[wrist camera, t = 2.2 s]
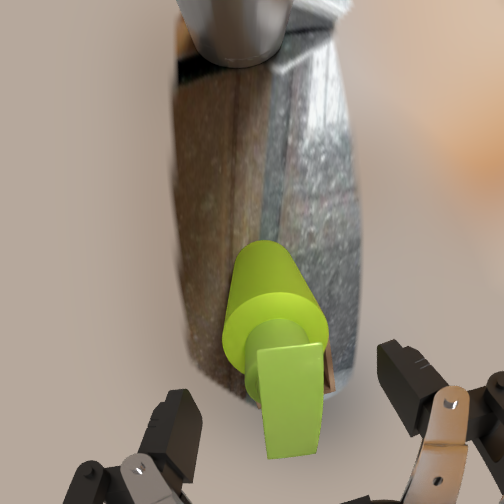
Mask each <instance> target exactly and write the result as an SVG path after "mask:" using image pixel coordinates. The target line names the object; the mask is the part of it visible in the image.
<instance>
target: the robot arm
mask: <svg viewBox="0 0 504 504" xmlns="http://www.w3.org/2000/svg"><path fill="white" fill-rule="evenodd" d="M176 1H177V3H178V6H179V8H180V11H181V13H182V15H183V18H184V20H185V23H186V25H187V28H188V30H189V33H190V35H191V38H192V40H193V42H194V45H195V47H196V49H197V51H198V52H199V53H200V54H201V55H202V56H203V57H204V58H205V59H206V60H208V61H210V62H211V63H214V64H216V65H219V66H223V67H229V68H243V67H250V66H254V65H257V64H260V63H262V62H264V61H266V60H268V59H269V58H271V57H272V56H273V55H274V54H275V53H276V52H277V51H278V50H279V49H280V46H281V44H282V42H283V39H284V35H285V31H286V27H287V24H288V20H289V16H290V12H291V9H292V5H293V1H294V0H176ZM377 375H378V380H379V383H380V385H381V387H382V388H383V390H384V391H385V393H386V395H387V397H388V399H389V400H390V402H391V404H392V405H393V407H394V409H395V410H396V412H397V414H398V416H399V417H400V419H401V421H402V422H403V424H404V426H405V428H406V429H407V431H408V433H409V435H410V437H413V436H415V435H418V434H420V435H421V437H422V438H423V439H422V442H421V446H420V449H419V452H418V455H417V458H416V461H415V464H414V468H413V470H412V473H411V476H410V479H409V481H408V484H407V486H406V488H405V491H404V493H403V495H402V498H401V500H400V501H395V500H372V501H371V500H370V497H369V495H367V496H364V497H361V498H358V499H355V500H351V501H348V502H344V503H341V504H456V501H457V498H458V494H459V490H460V486H461V482H462V478H463V474H464V469H465V464H466V459H467V453H468V445H465V442H467V441H470V440H472V441H473V443H474V445H475V446H476V448H477V450H478V451H479V453H480V455H481V456H482V458H483V460H484V461H485V463H486V465H487V467H488V469H489V471H490V472H491V474H492V476H493V478H494V480H495V482H496V484H497V485H498V487H499V489H500V491H501V493H502V495H503V496H502V498H501V500H500V502H499V504H504V371H500V372H497V373H494V374H493V375H491V377H490V378H489V380H488V382H487V385H486V386H484V387H480V388H477V389H473V390H469V391H466V390H465V389H464V388H462V387H459V386H449V385H448V383H447V382H446V381H445V380H444V379H443V378H442V377H441V375H440V374H439V373H438V372H437V371H436V370H435V369H434V368H433V366H432V365H430V363H429V362H428V361H427V360H426V359H425V358H424V357H423V355H422V354H421V353H420V352H419V351H418V350H416V349H414V348H411V347H409V346H407V347H404V348H402V346H401V345H400V344H399V343H398V342H397V341H396V340H395V339H393V340H390V341H388V342H385V343H382V344H380V345H378V346H377ZM201 430H202V416H201V413H200V411H199V409H198V407H197V405H196V403H195V402H194V400H193V398H192V396H191V394H190V392H189V391H188V390H187V389H179V390H170V391H169V392H168V394H167V397H166V400H165V402H160V404H159V405H158V406H157V407H156V408H155V409H154V410H153V413H152V416H151V418H150V421H149V424H148V428H147V429H146V431H145V434H144V437H143V440H142V442H141V445H140V448H139V450H138V453H137V454H133V455H130V456H129V457H127V458H126V459H125V460H124V461H123V463H122V464H121V466H115V467H109V468H104V467H103V466H102V465H101V464H100V463H99V462H97V461H93V460H91V461H86V462H84V463H82V464H81V465H80V466H79V467H78V468H77V470H76V472H75V475H74V477H73V480H72V482H71V484H70V487H69V489H68V491H67V494H66V496H65V499H64V502H63V504H103V502H104V503H106V504H192V502H191V501H190V500H189V499H188V497H187V496H186V494H185V493H184V492H183V491H182V490H181V489H182V484H183V483H193V477H194V471H195V465H196V459H197V454H198V448H199V441H200V436H201Z"/></svg>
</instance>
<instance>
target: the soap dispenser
mask: <svg viewBox="0 0 504 504" xmlns="http://www.w3.org/2000/svg"><path fill="white" fill-rule="evenodd" d="M328 336H329V330H328V324H327V321H326V318H325V316H324V314H323V312H322V311H321V309H320V307H319V305H318V303H317V302H316V300H315V298H314V296H313V294H312V293H311V291H310V289H309V287H308V285H307V284H306V282H305V280H304V278H303V276H302V275H301V273H300V271H299V269H298V268H297V266H296V264H295V262H294V261H293V259H292V257H291V255H290V254H289V252H288V251H287V250H286V249H285V248H284V247H283V246H282V245H280V244H278V243H276V242H273V241H268V240H260V241H256V242H253V243H250V244H249V245H247V246H246V247H244V248H243V249H242V250H241V251H240V253H239V254H238V256H237V258H236V260H235V264H234V269H233V275H232V281H231V286H230V292H229V298H228V304H227V310H226V316H225V322H224V328H223V334H222V344H223V349H224V352H225V355H226V357H227V358H228V360H229V361H230V363H231V364H232V365H233V366H234V367H235V368H236V369H237V370H238V371H240V372H241V373H243V374H245V387H246V390H247V393H248V394H249V396H250V397H251V398H252V399H253V400H255V401H256V402H258V403H260V404H261V409H262V418H263V427H264V435H265V443H266V451H267V458H268V459H278V458H288V457H296V456H302V455H310V454H315V453H316V451H317V446H318V441H319V435H320V429H321V420H322V411H323V394H324V362H323V353H324V351H325V349H326V346H327V342H328Z"/></svg>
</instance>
